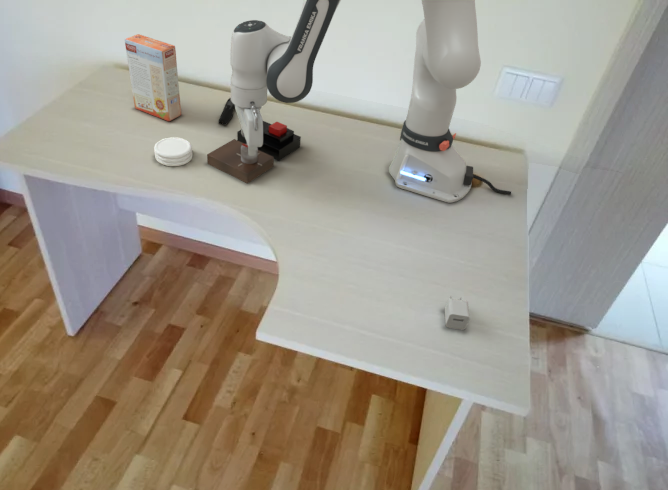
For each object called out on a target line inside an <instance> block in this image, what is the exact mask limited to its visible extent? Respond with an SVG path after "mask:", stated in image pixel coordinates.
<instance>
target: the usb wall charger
mask: <svg viewBox="0 0 668 490" xmlns="http://www.w3.org/2000/svg"><path fill="white" fill-rule="evenodd" d="M452 297H453V296H452V295H449V298H448V299H447V302H446V304H445V307H444V321H445V327H446V328H448V329H449V328H450V329H455V330H461V331H464V330H466V328H467V327H468V324H469V322H470V320H471V316H470V309H469V307H470V306H469V301H467V300H464V299H462V297H460V298H459V299H458V298H452Z"/></svg>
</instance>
